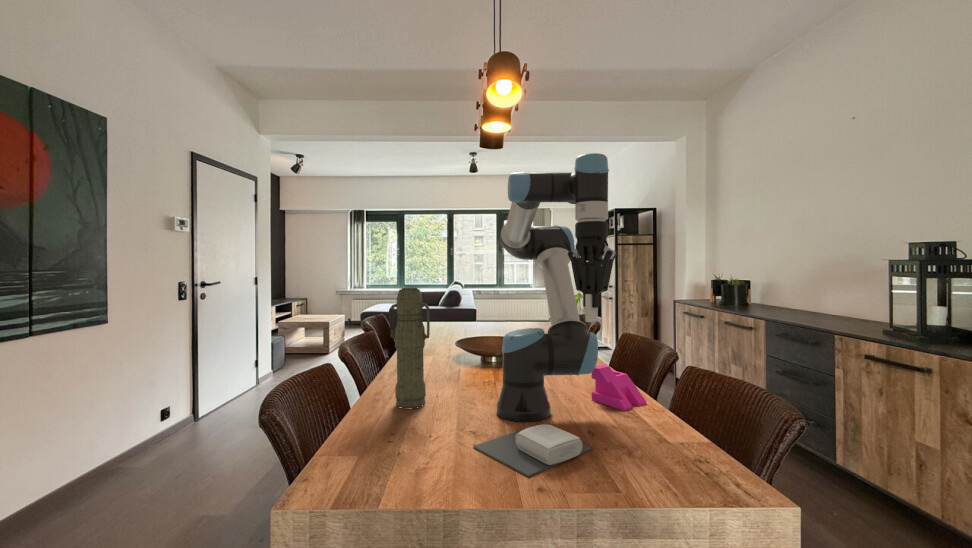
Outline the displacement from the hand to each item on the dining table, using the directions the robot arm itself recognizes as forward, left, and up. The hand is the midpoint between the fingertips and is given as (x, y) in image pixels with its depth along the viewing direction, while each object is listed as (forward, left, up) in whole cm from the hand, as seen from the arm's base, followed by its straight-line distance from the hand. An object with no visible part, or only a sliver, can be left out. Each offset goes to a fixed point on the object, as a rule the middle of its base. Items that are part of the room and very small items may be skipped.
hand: (591, 321), depth 102 cm
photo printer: (+5, -14, -26) cm, 30 cm away
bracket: (-12, +29, -29) cm, 43 cm away
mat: (-5, -14, -28) cm, 32 cm away
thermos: (-51, -20, -29) cm, 62 cm away
